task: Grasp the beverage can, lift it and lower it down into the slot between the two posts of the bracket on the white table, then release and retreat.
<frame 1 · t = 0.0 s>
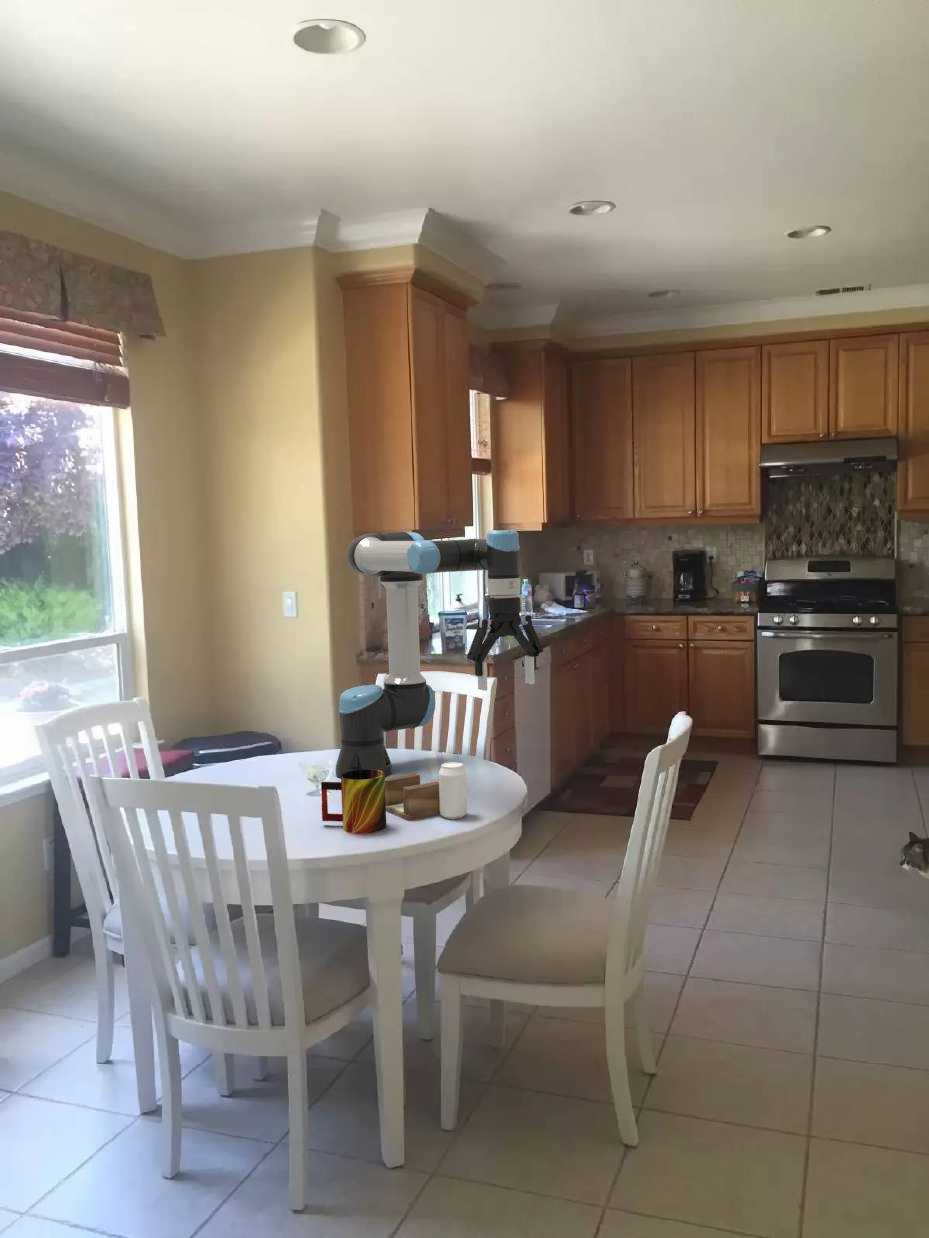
hand: (506, 686, 241), 28 cm above the table, fingers open, 13 cm apart
mug: (355, 829, 227), on the table
beverage can: (453, 817, 234), on the table
post bracket: (412, 810, 239), on the table
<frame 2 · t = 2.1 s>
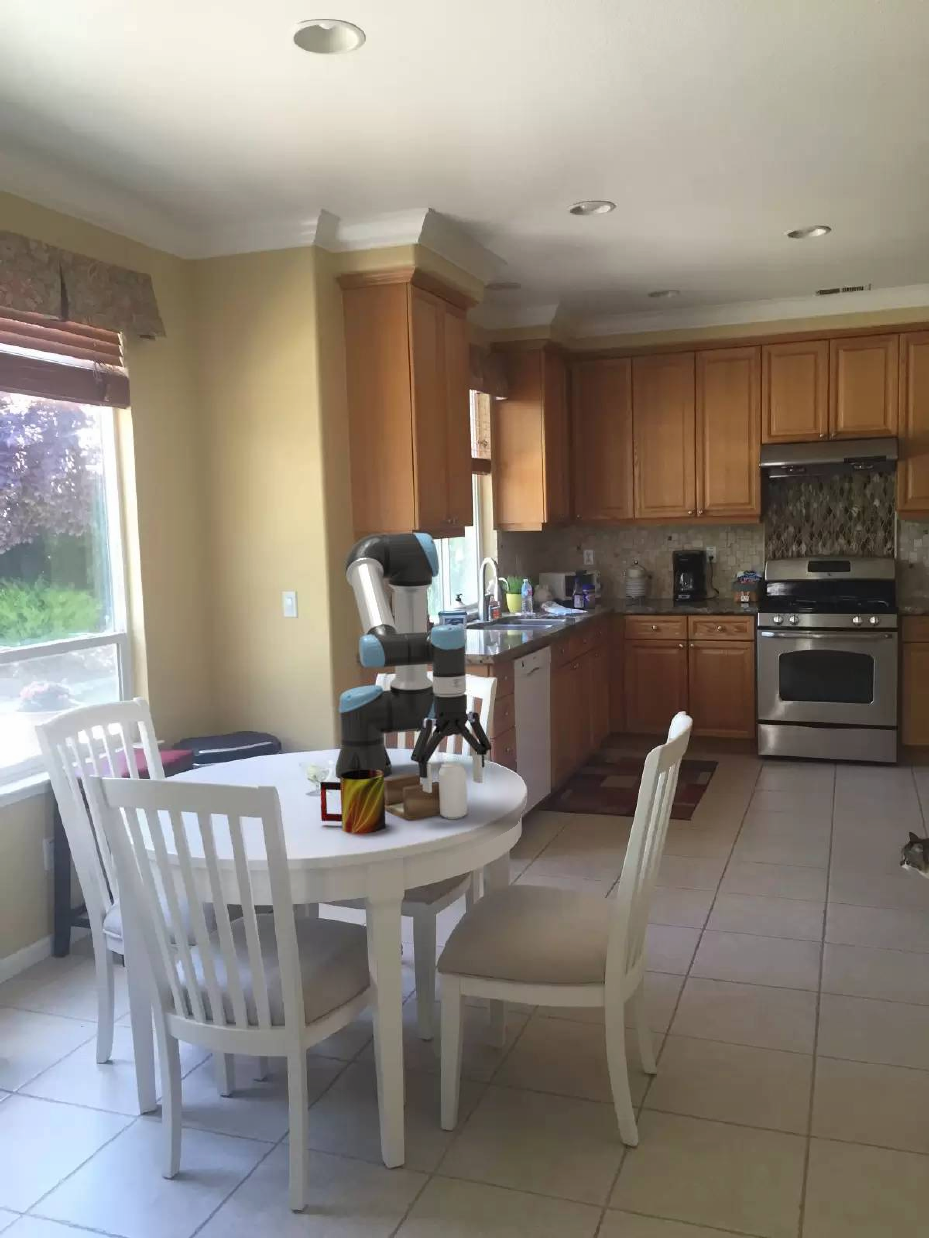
hand: (453, 786, 233), 7 cm above the table, fingers open, 13 cm apart
nothing on the table moved.
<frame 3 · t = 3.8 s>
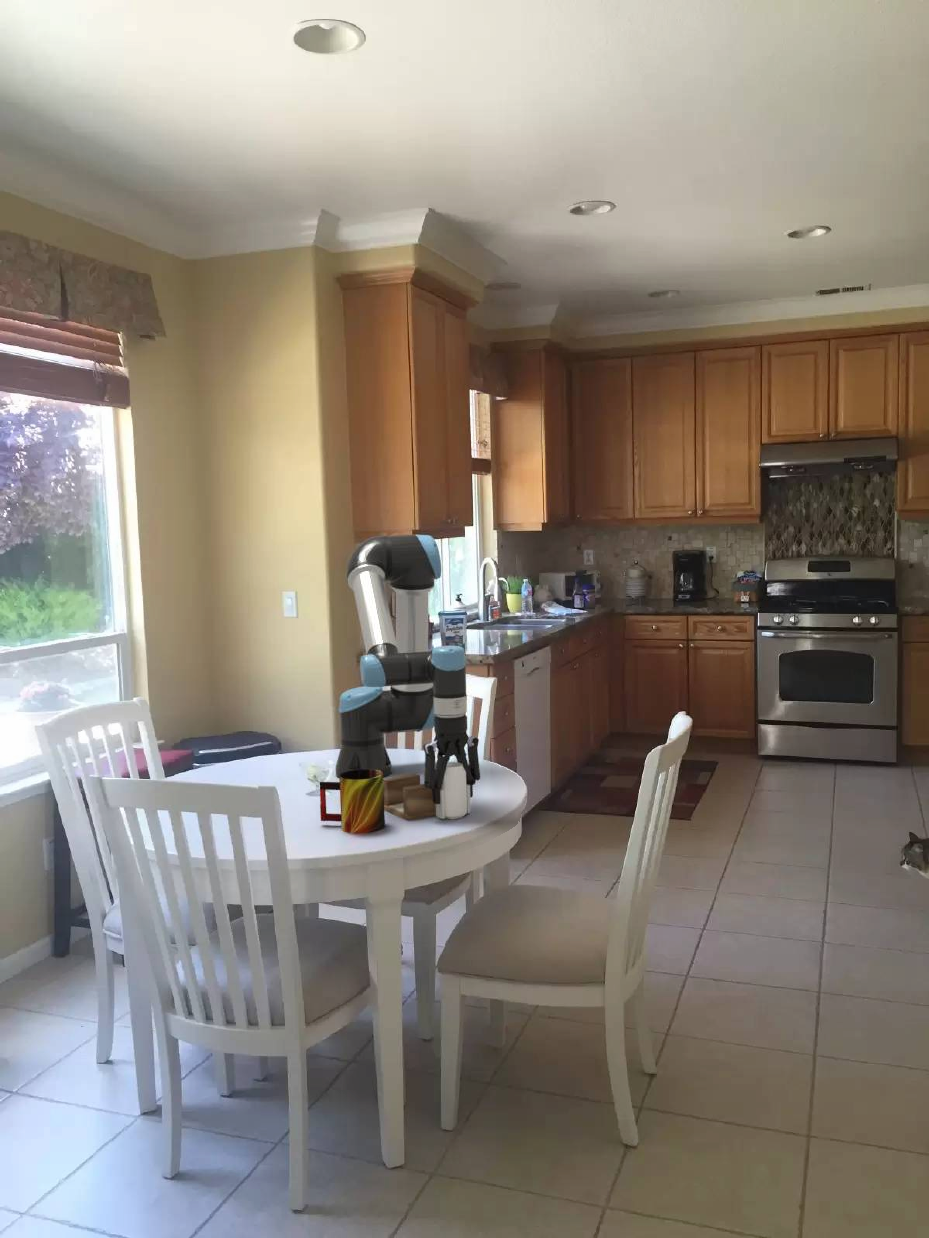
hand: (453, 814, 234), 0 cm above the table, fingers closed on beverage can, 6 cm apart
beverage can: (453, 817, 234), on the table, touching gripper
everything else where it was.
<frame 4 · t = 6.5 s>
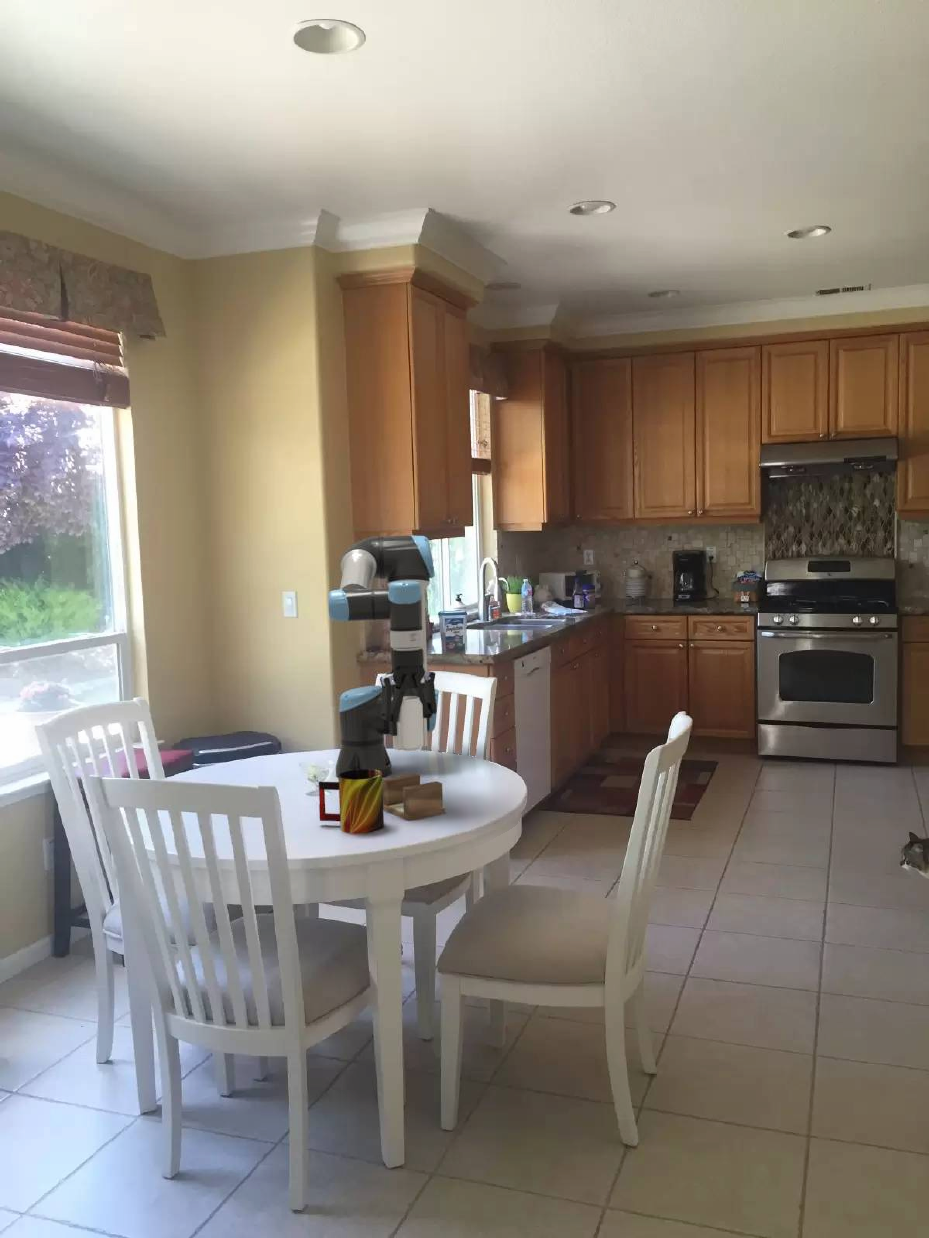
hand: (410, 746, 238), 15 cm above the table, fingers closed on beverage can, 6 cm apart
beverage can: (410, 749, 238), point 15 cm above the table, touching gripper
everything else where it was.
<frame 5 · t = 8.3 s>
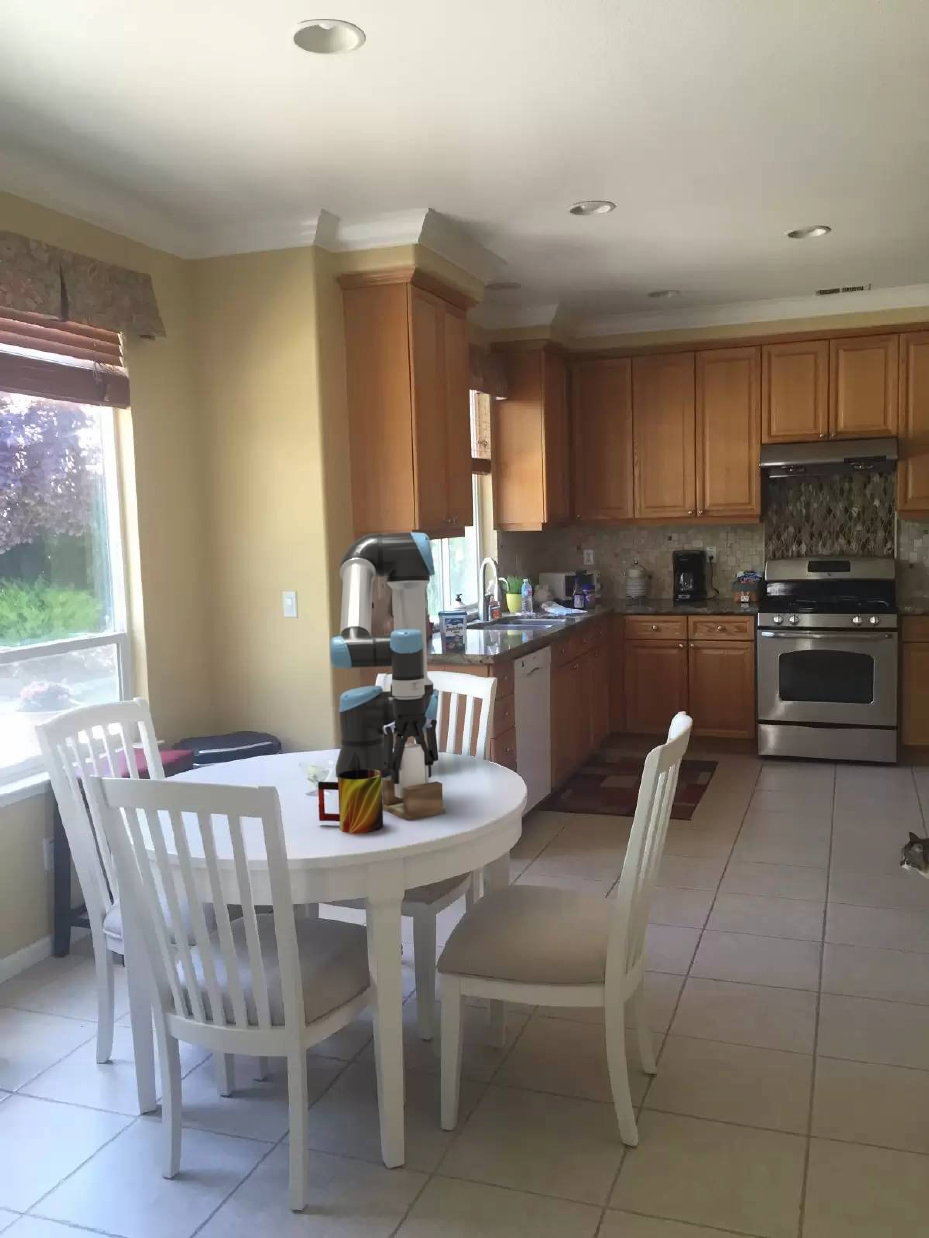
hand: (412, 794, 239), 4 cm above the table, fingers closed on beverage can, 6 cm apart
beverage can: (412, 796, 239), point 3 cm above the table, touching gripper
everything else where it was.
when the fingers open (3 cm above the table, at t = 9.2 s): beverage can drops 2 cm, resting on post bracket.
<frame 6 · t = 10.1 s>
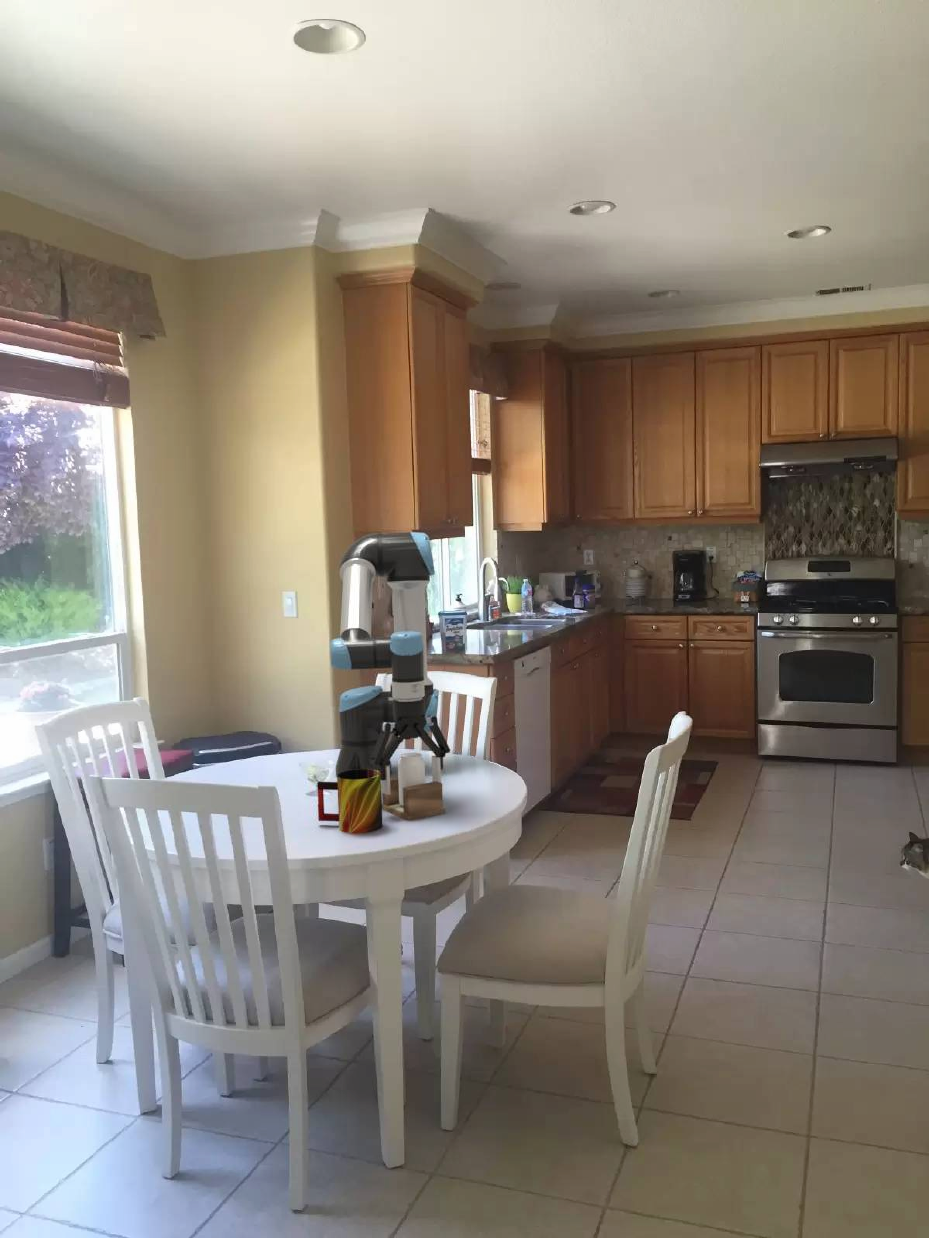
hand: (411, 788, 239), 5 cm above the table, fingers open, 13 cm apart
beverage can: (412, 806, 239), point 1 cm above the table, touching post bracket
everything else where it was.
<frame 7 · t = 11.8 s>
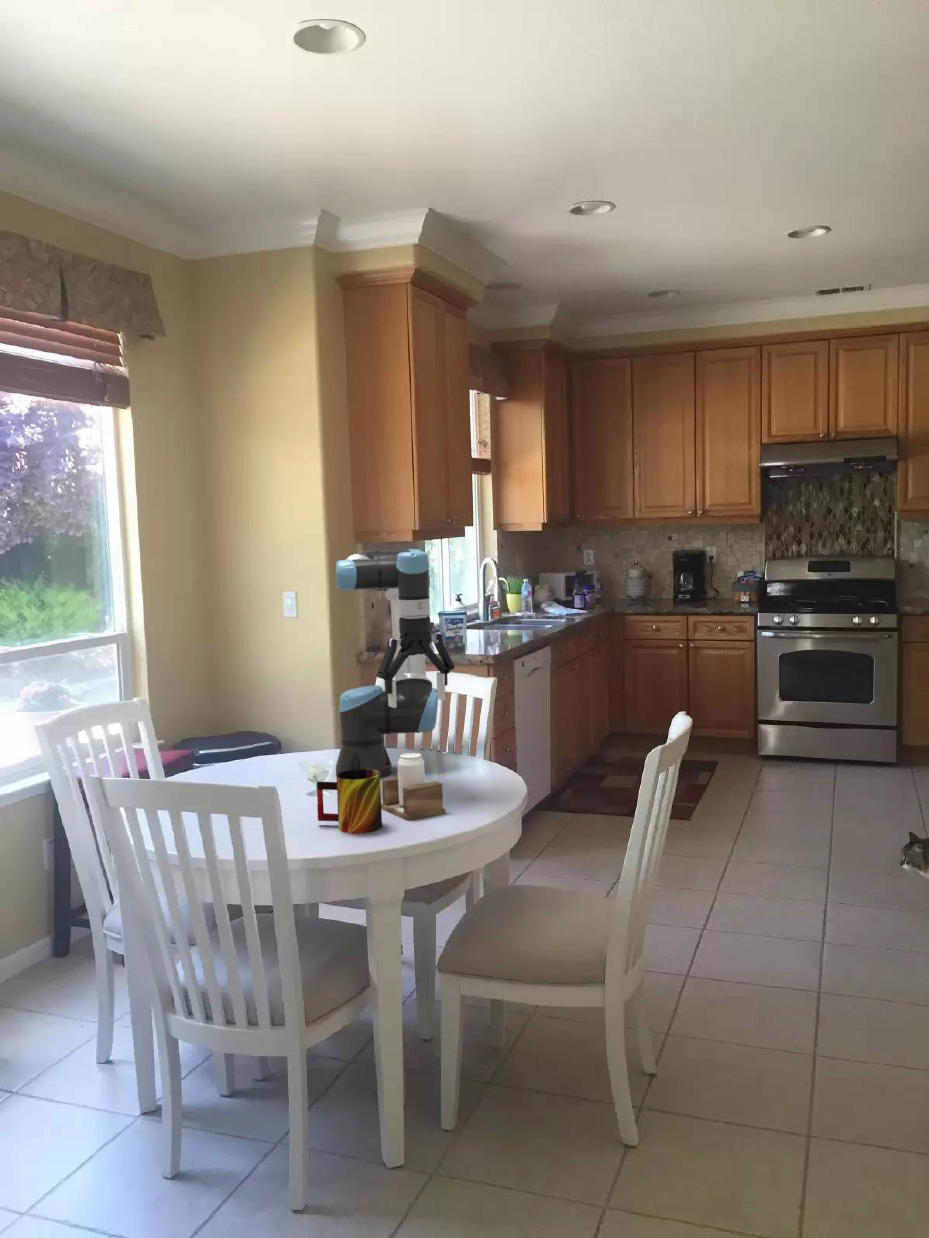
hand: (417, 703, 249), 23 cm above the table, fingers open, 13 cm apart
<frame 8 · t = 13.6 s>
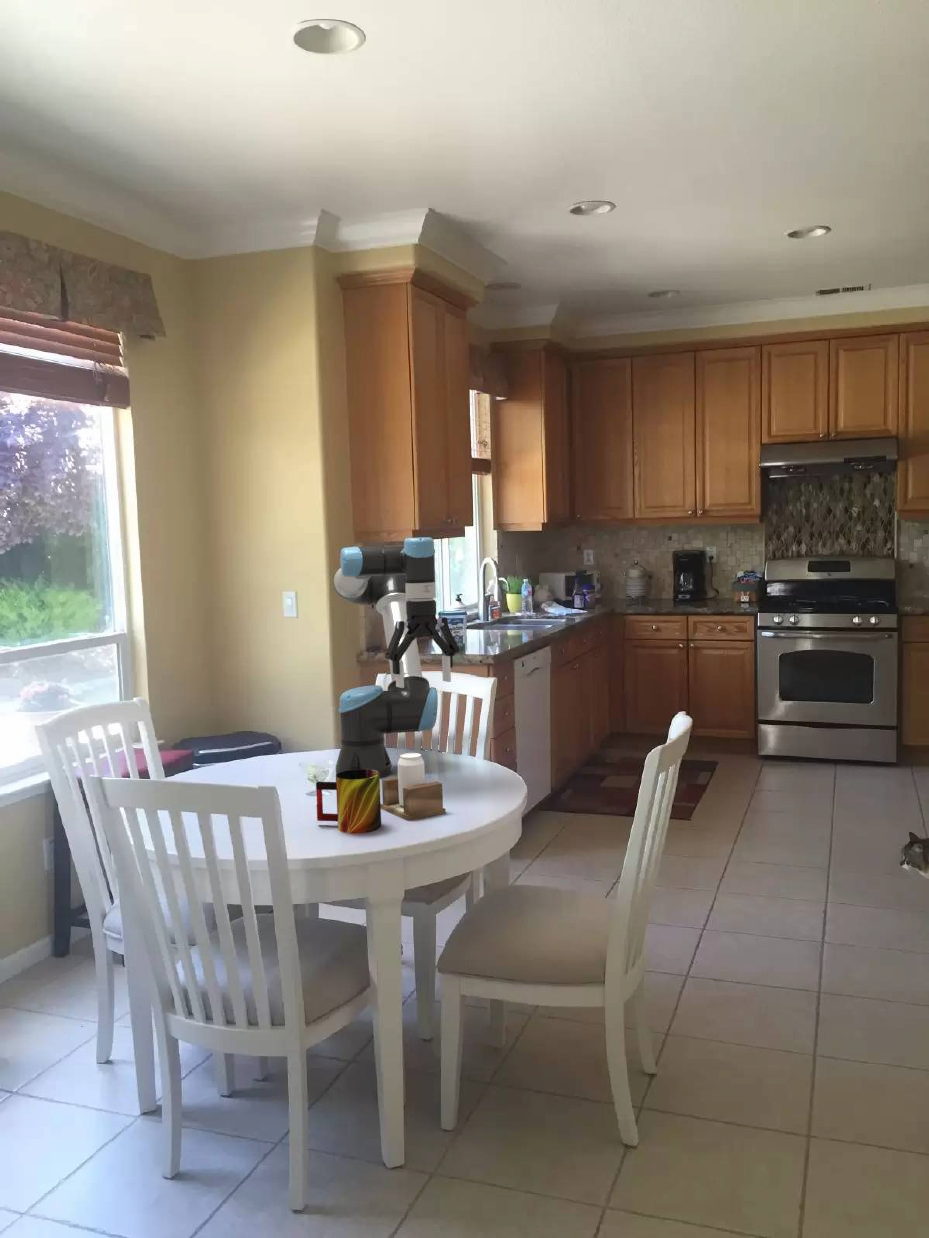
hand: (423, 684, 256), 27 cm above the table, fingers open, 13 cm apart
at the end: beverage can inside the target area on the post bracket (0.0 cm from its centre), point 1.0 cm above the post bracket's base; beverage can tilted 0°; the gripper is holding nothing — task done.
